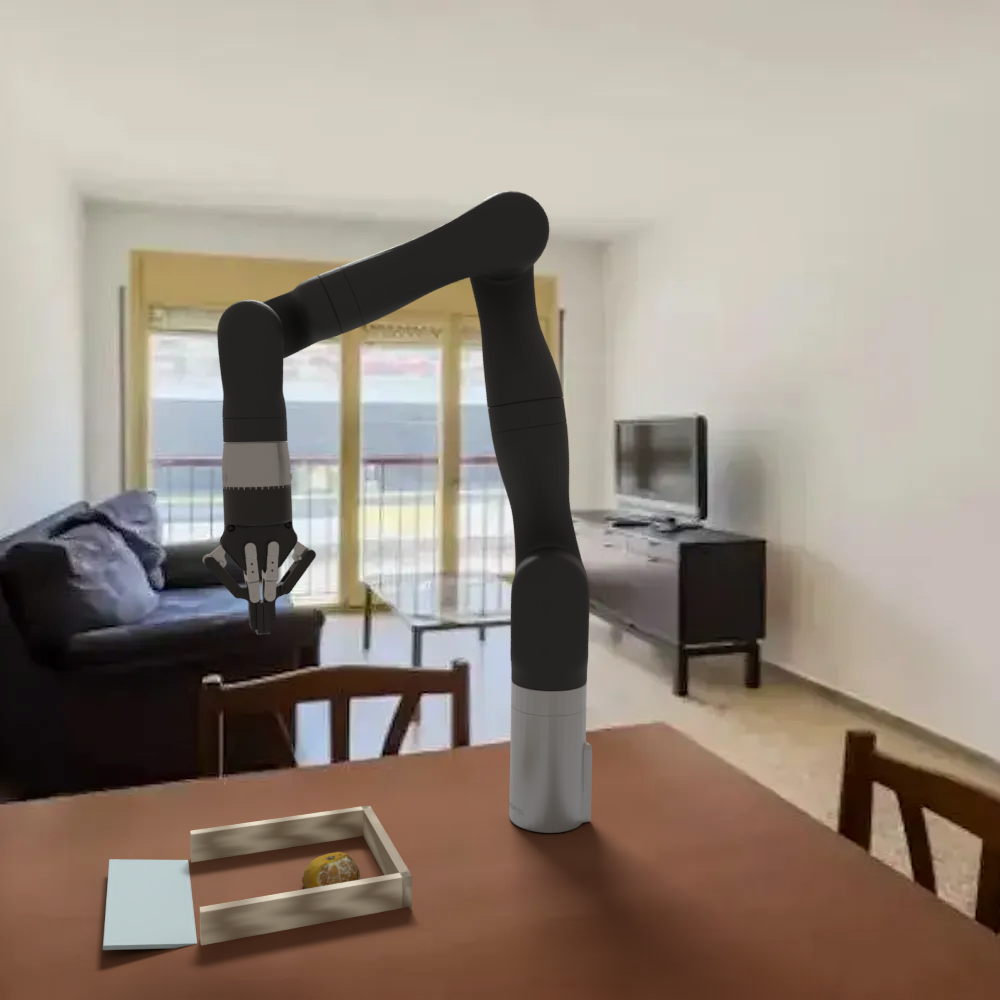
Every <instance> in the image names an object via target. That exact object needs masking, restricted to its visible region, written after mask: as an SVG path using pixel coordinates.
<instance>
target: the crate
mask: <svg viewBox="0 0 1000 1000" xmlns="http://www.w3.org/2000/svg"><path fill="white" fill-rule="evenodd" d="M359 837H363V838H364V839H365V842H366V844H367V847H369V850H370V851H371V853H372V855H373V857H374V859H375V861H376V863H377V864H378V866H379V868H380V870H381V871H382V873H383V875H379V876H374V877H367V878H360V880H355V881H349V882H343V883H337V884H332V885H326V886H320V887H314V888H308V889H305V888H304V889H303V888H302V889H298V890H292V891H286V892H285V891H284V892H280V893H274V894H268V895H263V896H262V895H261V896H257V897H251V898H246V899H240V900H234V901H228V902H222V903H216V904H210V905H204V906H199V940H200V946H206V945H210V944H215V943H222V942H226V941H232V940H233V941H234V940H237V939H242V938H243V939H244V938H248V937H253V936H254V937H255V936H258V935H259V936H260V935H265V934H270V933H275V932H280V931H286V930H293V929H297V928H301V927H308V926H314V925H319V924H325V923H329V922H334V921H340V920H346V919H350V918H351V919H352V918H355V917H360V916H361V917H362V916H368V915H372V914H373V915H374V914H377V913H382V912H388V911H393V910H394V911H395V910H399V909H404V908H409V910H410V911H412V909H413V908H412V906H413V904H412V903H413V897H412V896H413V875H412V873H411V871H410V870H409V869H408V867H407V865H406V863H405V862H404V860H403V859H402V857H401V855H400V854H399V852H398V850H397V848H396V847H395V845H394V843H393V842H392V840H391V838H390V836H389V835H388V834H387V832H386V830H385V829H384V827H383V824H382V823H381V822H380V820H379V818H378V817H377V815H376V813H375V812H374V810H373V808H372V807H371V805H370V804H369V805H362V806H361V805H360V806H355V807H354V806H353V807H347V808H339V809H334V810H327V811H320V812H319V811H318V812H314V813H312V812H311V813H306V814H298V815H291V816H285V817H283V816H282V817H279V818H271V819H263V820H258V821H257V820H256V821H250V822H242V823H237V824H236V823H235V824H230V825H227V824H226V825H221V826H215V827H208V828H198V829H194V830H190V838H189V839H190V863H195V862H196V863H197V862H204V861H209V860H210V861H211V860H217V859H221V858H222V859H223V858H229V857H236V856H242V855H248V854H255V853H256V854H257V853H261V852H268V851H274V850H282V849H289V848H292V847H293V848H294V847H301V846H307V845H314V844H320V843H326V842H327V843H328V842H333V841H340V840H345V839H352V838H353V839H354V838H359Z"/></svg>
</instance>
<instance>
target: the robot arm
mask: <svg viewBox="0 0 1000 1000" xmlns="http://www.w3.org/2000/svg"><path fill="white" fill-rule="evenodd" d="M547 215H548V214H547V213H546V211H545V209H544V207H543V206H542V205H541V203H539V202H538V201H537V199H535V198H534V197H532V196H531V195H529V194H527V193H524V192H521V191H517V190H516V191H515V190H507V191H506V190H505V191H500V192H497V193H493V194H492V195H490V196H488V197H486V198H484V200H482V201H481V202H480V203H478V204H476V205H475V206H473V207H472V208H470V209H468V210H467V211H465V212H463V213H461V214H459V215H458V216H457V217H454V218H453V219H451V220H449V221H448V222H446V223H444V224H442V225H440V226H437V227H436V228H434V229H432V230H430V231H428V232H425V233H423V234H422V235H419V236H417V237H415V238H413V239H410V240H408V241H405V242H403V243H400V244H397V245H395V246H392V247H389V248H387V249H384V250H381V251H379V252H376V253H373V254H370V255H368V256H365V257H361V258H359V259H357V260H353V261H352V262H349V263H346V264H344V265H340V266H339V267H335V268H333V269H331V270H328V271H325V272H322V273H320V274H317V275H315V276H312V277H309V278H308V279H306V280H304V281H302V282H300V283H299V284H298V285H297V286H296V287H295V288H294V289H292V290H290V291H288V292H285V293H283V294H279V295H277V296H275V297H272V298H269V299H267V300H265V301H258V300H254V299H244V300H239V301H236V302H235V303H232V304H231V305H230V306H228V307H227V308H226V309H225V310H224V311H223V312H222V314H221V316H220V318H219V321H218V325H217V330H216V331H217V333H216V334H217V335H216V337H217V339H216V340H217V350H218V351H217V352H218V362H219V370H220V377H221V385H222V393H223V394H222V395H223V396H222V397H223V399H222V413H221V414H222V437H223V438H222V439H223V440H222V442H223V445H222V447H223V448H222V457H221V473H222V474H221V477H222V480H221V481H222V497H223V499H222V500H223V501H222V502H223V505H222V507H223V527H224V528H223V532H222V535H221V536H220V538H219V544H220V545H218V546H217V547H216V548H215V549H213V550H212V551H211V552H210V553H206V554H205V555H203V556H202V562H203V564H204V565H205V567H206V568H207V569H208V570H209V571H210V572H211V573H212V574H213V576H215V577H216V579H217V580H218V581H220V582H221V584H222V585H223V586H224V587H225V589H226V590H228V592H229V593H230V594H231V595H232V596H233V597H234V598H235V599H239V600H240V599H241V600H245V601H247V606H248V607H247V609H248V625H249V626H250V628H251V630H252V631H254V632H255V634H256V635H257V636H258V635H260V636H261V635H270V634H271V629H275V627H276V625H277V615H276V614H277V613H276V611H277V610H276V609H277V608H276V602H277V599H278V598H280V597H282V596H285V595H289V594H290V593H291V592H292V591H293V589H294V588H295V587H296V585H298V582H299V581H300V579H301V578H302V576H303V575H304V574H305V572H306V571H307V570H308V569H309V567H310V566H311V564H312V563H313V562H314V560H315V559H316V557H317V553H316V551H315V550H314V549H312V548H310V547H307V546H305V545H304V544H302V542H300V541H298V538H299V537H298V534H297V533H296V531H295V528H294V525H293V523H294V522H293V505H292V504H293V499H292V498H293V497H292V479H293V472H292V468H291V465H292V464H291V457H290V456H291V455H290V450H289V445H288V444H289V442H288V417H287V406H286V400H285V396H284V359H286V358H288V357H291V356H292V355H295V354H297V353H299V352H302V350H305V349H307V348H309V347H310V346H313V345H315V344H316V343H318V342H322V341H325V340H328V339H332V338H336V337H338V336H340V335H343V334H347V333H348V332H351V331H353V330H356V329H358V328H361V327H363V326H366V325H368V324H371V323H373V322H376V321H378V320H380V319H382V318H384V317H387V316H388V315H390V314H392V313H395V312H397V311H398V310H400V309H402V308H404V307H406V306H408V305H409V304H411V303H414V302H415V301H417V300H419V299H421V298H423V297H425V296H427V295H428V294H430V293H432V292H434V291H435V292H436V291H438V290H439V289H441V288H444V287H447V286H449V285H451V284H455V283H457V282H460V281H462V280H466V279H469V281H470V284H471V288H472V293H473V298H474V302H475V307H476V310H477V311H476V312H477V315H478V319H479V327H480V336H481V337H480V338H481V350H482V352H481V353H482V366H483V375H484V377H483V378H484V386H485V395H486V396H485V397H486V406H487V412H488V420H489V427H490V432H491V434H490V435H491V438H492V439H491V441H492V444H493V450H494V455H495V459H496V462H497V463H496V464H497V466H498V469H499V473H500V476H501V479H502V483H503V487H504V489H505V493H506V496H507V498H508V501H509V502H508V503H509V505H510V510H511V515H512V525H513V536H514V537H513V539H514V559H515V560H514V561H515V562H514V563H515V564H514V565H515V566H514V570H515V571H514V577H513V580H512V583H511V591H510V654H509V655H510V669H511V670H510V672H511V673H510V674H511V675H510V681H511V682H510V684H511V685H510V747H509V749H510V751H509V752H510V753H509V755H510V756H509V799H508V801H509V803H508V805H509V815H508V816H509V819H510V821H511V822H512V823H513V824H514V825H516V826H518V827H519V828H521V829H523V830H527V831H530V832H535V833H545V834H547V833H548V834H553V833H554V834H555V833H556V834H557V833H562V832H568V831H571V830H574V829H576V828H578V827H579V826H581V825H582V824H583V823H588V822H591V820H592V783H593V782H592V780H593V779H592V777H593V775H592V774H593V747H592V745H591V744H590V743H589V742H588V741H587V740H586V739H587V734H586V733H587V730H586V729H587V698H588V697H587V694H588V693H587V692H588V690H587V689H588V687H587V686H588V685H587V684H588V683H587V682H588V667H589V666H588V663H589V643H590V642H589V641H590V640H589V638H590V637H589V636H590V635H589V634H590V601H591V600H590V584H589V579H588V578H589V577H588V575H587V571H586V570H587V569H586V568H585V566H584V562H583V559H582V557H581V552H580V551H581V550H580V548H579V547H580V546H579V543H578V540H577V539H578V538H577V535H576V530H575V526H574V522H573V517H572V511H571V502H570V447H569V444H570V442H569V431H568V423H567V421H568V420H567V413H566V407H565V400H564V394H563V388H562V383H561V378H560V376H559V372H558V369H557V366H556V364H555V360H554V358H553V356H552V353H551V349H550V348H549V345H548V343H547V341H546V339H545V336H544V334H543V333H544V332H543V331H542V330H543V329H542V327H541V324H540V320H539V315H538V309H537V301H536V289H535V264H536V263H537V261H538V260H539V259H540V257H541V256H542V255H543V253H544V251H545V249H546V247H547V244H548V241H549V238H550V222H549V218H548V217H549V216H547ZM292 551H293V553H292V555H291V558H292V561H293V562H292V564H291V565H290V566H289V567H288V569H287V571H286V572H285V573H284V575H283V576H282V578H281V579H280V580H279V581H278V569H280V567H282V566H283V564H284V563H285V561H287V559H288V557H289V556H290V554H291V552H292ZM226 554H227V556H228V557H229V558H230V559H231V561H233V563H234V564H235V565H236V566H237V567H238V569H239V570H241V571H243V577H244V582H245V586H243V585H240V584H239V583H238V582H237V581H236V580H235V579H234V578H233V577H232V575H230V574H229V572H228V571H227V570H226V569H225V567H226V566H227V560H226V557H225V555H226ZM260 571H261V580H262V581H261V582H262V583H261V587H260V575H259V572H260ZM277 581H278V583H277ZM260 588H261V589H260ZM261 596H262V597H261ZM261 598H262V599H261Z"/></svg>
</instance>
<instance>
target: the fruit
mask: <svg viewBox="0 0 1000 1000" xmlns="http://www.w3.org/2000/svg"><path fill="white" fill-rule="evenodd" d="M360 873H361V872H360V869H359V866H358V865H357V863H356V862H355V860H354V859H353V858H352V857H351V856H350V855H349V854H348V853H346V852H341V851H336V852H330V853H326V854H323V855H319V856H317V857H316V858H314V859H313V860H311V861H310V862H309V863H308V865H307V866H306V868H305V870H304V872H303V876H302V878H301V882H302V886H303V888H304V889H308V888H314V887H320V886H326V885H332V884H337V883H343V882H349V881H355V880H361V874H360Z"/></svg>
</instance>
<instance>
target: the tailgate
mask: <svg viewBox="0 0 1000 1000" xmlns="http://www.w3.org/2000/svg"><path fill="white" fill-rule="evenodd" d="M108 860H109V861H108V872H107V885H106V900H105V912H104V913H105V914H104V915H105V916H104V927H103V939H102V941H103V942H102V951H114V950H151V949H152V950H155V949H156V950H157V949H176V948H181V947H182V948H183V947H186V946H187V947H188V946H192V945H193V946H194V945H197V944H198V940H197V931H196V928H197V927H196V919H195V911H194V902H193V893H192V891H193V890H192V883H191V875H190V874H191V873H190V867H189V865H190V864H189V860H188V859H121V858H120V859H117V858H116V859H110V858H109V859H108Z"/></svg>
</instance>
